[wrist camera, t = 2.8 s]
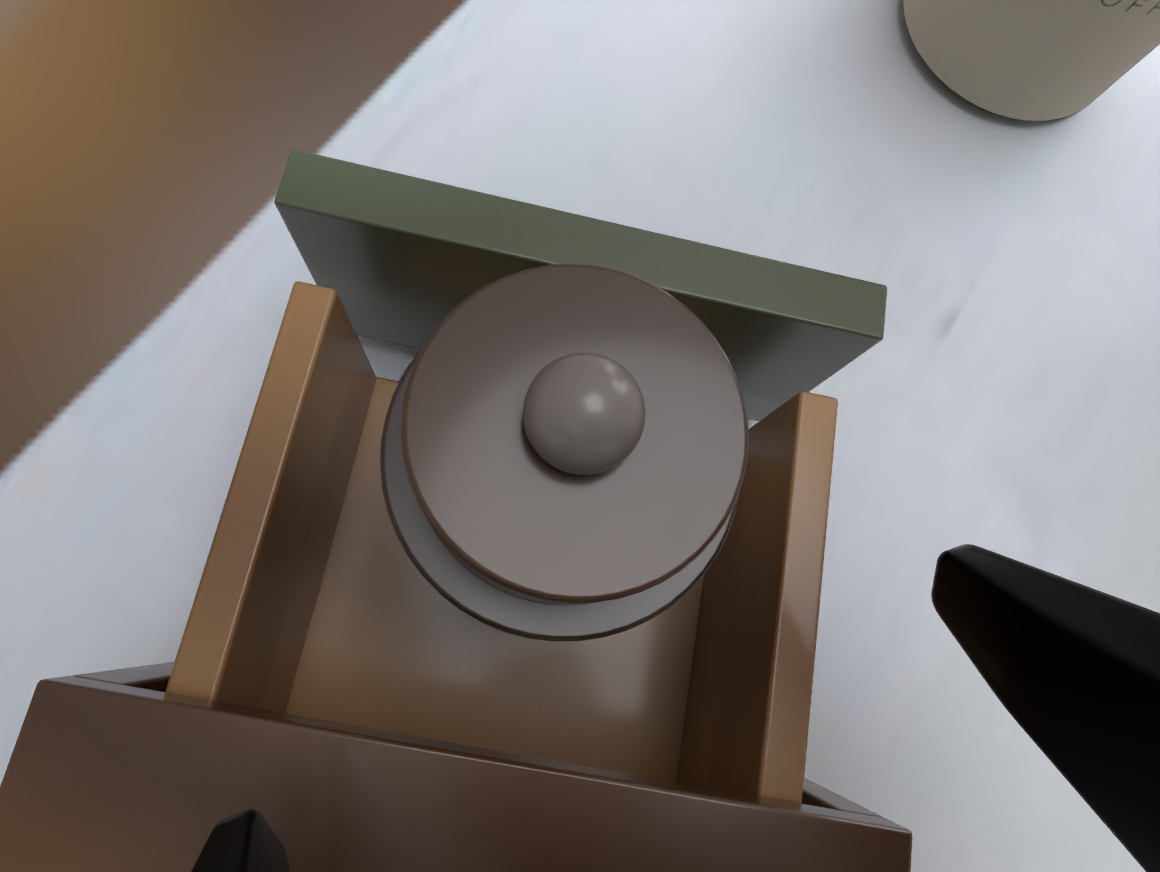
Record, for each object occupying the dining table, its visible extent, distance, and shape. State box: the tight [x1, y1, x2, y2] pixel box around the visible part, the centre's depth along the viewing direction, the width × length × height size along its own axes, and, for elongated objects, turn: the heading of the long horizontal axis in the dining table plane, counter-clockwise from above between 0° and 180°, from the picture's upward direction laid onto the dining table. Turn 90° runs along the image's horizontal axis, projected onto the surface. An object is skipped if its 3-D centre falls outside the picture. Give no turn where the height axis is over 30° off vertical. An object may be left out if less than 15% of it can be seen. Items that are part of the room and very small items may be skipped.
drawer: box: [166, 150, 887, 804], centre depth 16 cm, size 13×12×6 cm
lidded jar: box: [380, 264, 749, 642], centre depth 12 cm, size 4×4×12 cm
